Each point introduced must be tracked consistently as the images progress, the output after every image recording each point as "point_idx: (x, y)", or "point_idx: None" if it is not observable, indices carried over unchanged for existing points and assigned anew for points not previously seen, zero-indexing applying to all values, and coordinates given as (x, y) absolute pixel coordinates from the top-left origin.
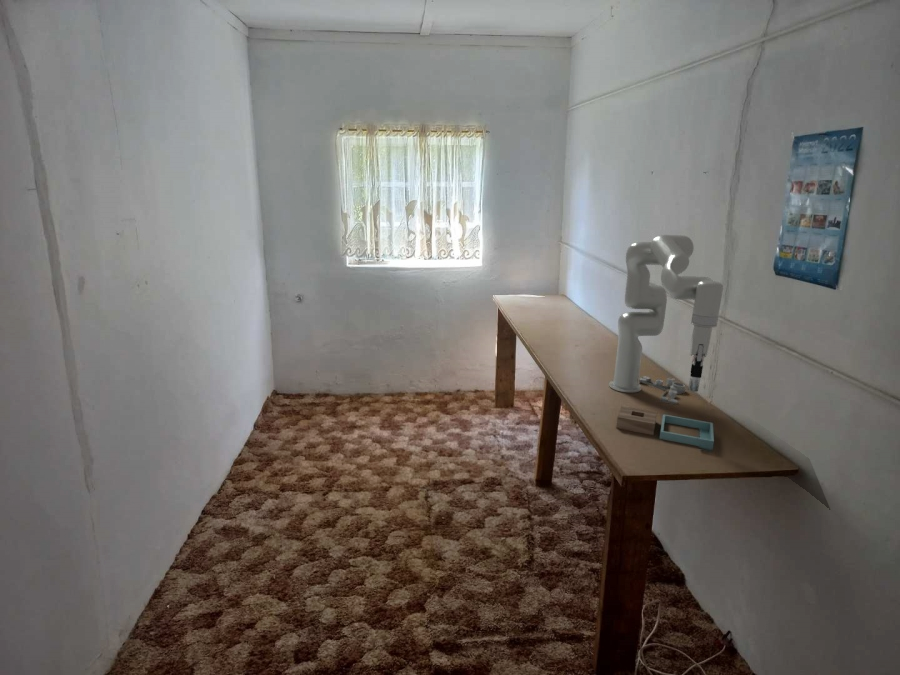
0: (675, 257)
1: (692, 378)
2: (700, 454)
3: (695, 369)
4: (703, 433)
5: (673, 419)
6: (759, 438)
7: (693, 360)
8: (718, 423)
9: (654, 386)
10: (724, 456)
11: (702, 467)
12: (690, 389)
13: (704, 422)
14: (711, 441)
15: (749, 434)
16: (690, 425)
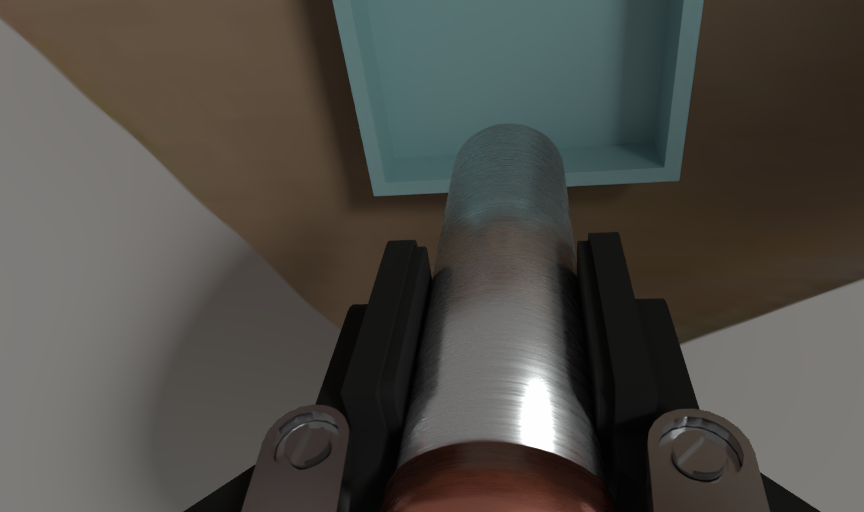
0: None
1: (441, 240)
2: (309, 116)
3: (331, 382)
4: (599, 116)
5: None
6: (681, 343)
7: (420, 474)
8: (849, 181)
9: None
10: (366, 216)
11: (169, 135)
12: (459, 154)
13: (669, 133)
14: (372, 183)
15: (719, 312)
16: (669, 33)
